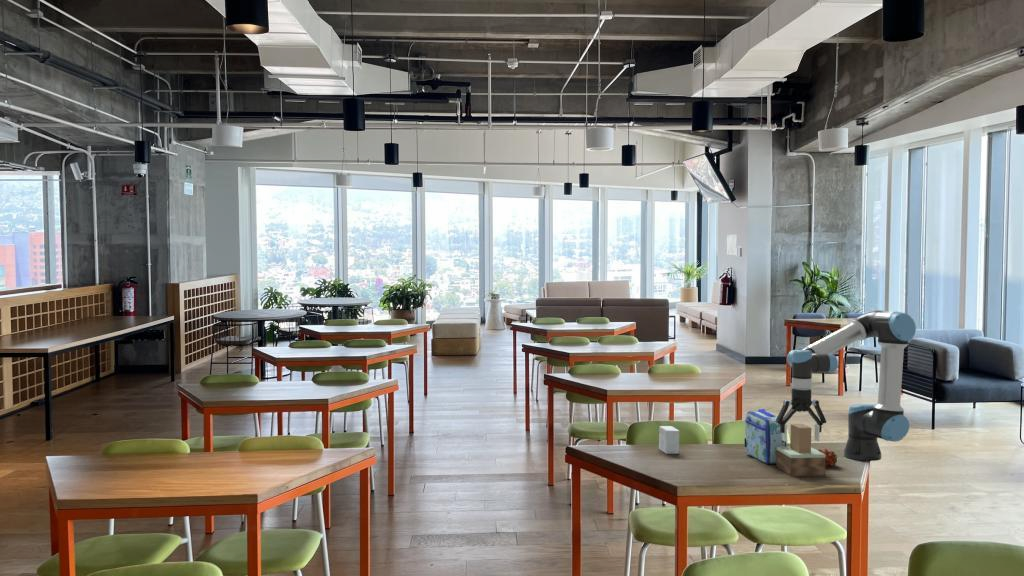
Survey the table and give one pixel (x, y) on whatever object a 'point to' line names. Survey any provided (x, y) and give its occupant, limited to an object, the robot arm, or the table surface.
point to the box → (800, 465)
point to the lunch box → (763, 436)
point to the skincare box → (669, 439)
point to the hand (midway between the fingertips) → (800, 440)
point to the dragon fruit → (829, 458)
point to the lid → (800, 443)
